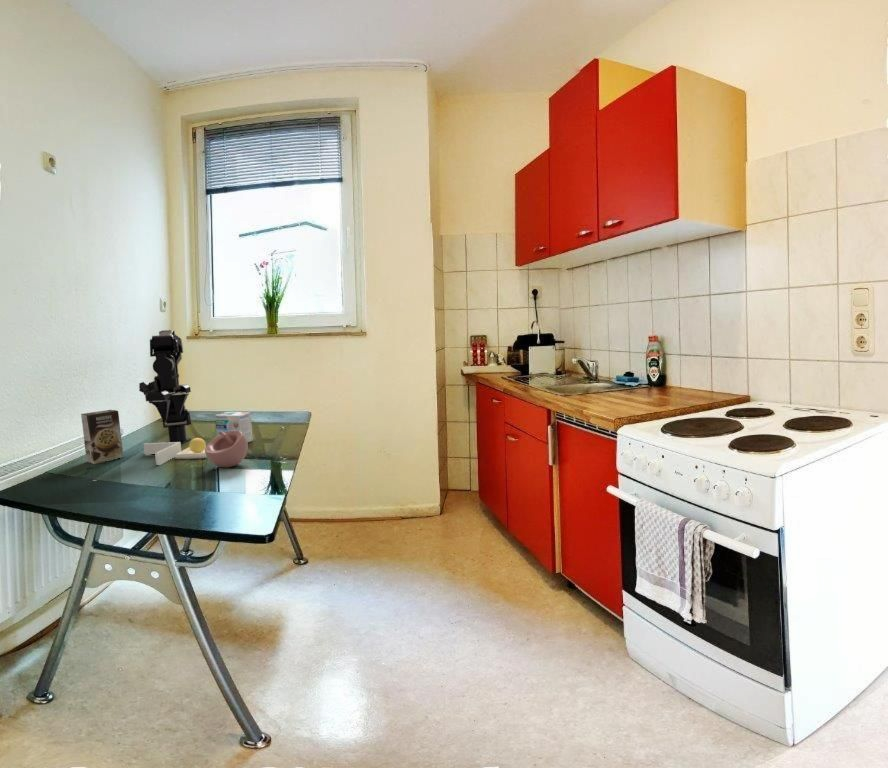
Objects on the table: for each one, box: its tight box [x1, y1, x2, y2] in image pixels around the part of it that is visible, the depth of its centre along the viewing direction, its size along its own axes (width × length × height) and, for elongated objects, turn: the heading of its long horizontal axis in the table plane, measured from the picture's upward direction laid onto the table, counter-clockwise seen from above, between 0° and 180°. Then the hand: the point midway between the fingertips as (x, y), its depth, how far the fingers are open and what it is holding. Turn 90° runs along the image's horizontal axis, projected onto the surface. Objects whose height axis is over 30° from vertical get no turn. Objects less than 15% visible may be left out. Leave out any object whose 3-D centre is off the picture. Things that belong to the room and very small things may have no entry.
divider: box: [142, 441, 182, 466], centre depth 169 cm, size 14×12×4 cm
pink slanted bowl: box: [205, 430, 249, 468], centre depth 157 cm, size 12×12×12 cm
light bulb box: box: [214, 411, 254, 444], centre depth 189 cm, size 11×7×11 cm, turn 73°
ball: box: [188, 437, 207, 453], centre depth 174 cm, size 5×5×5 cm
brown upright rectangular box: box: [80, 409, 124, 465], centre depth 172 cm, size 9×6×16 cm
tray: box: [174, 447, 208, 460], centre depth 174 cm, size 10×10×2 cm
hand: (171, 417), depth 179 cm, fingers open, 9 cm apart
